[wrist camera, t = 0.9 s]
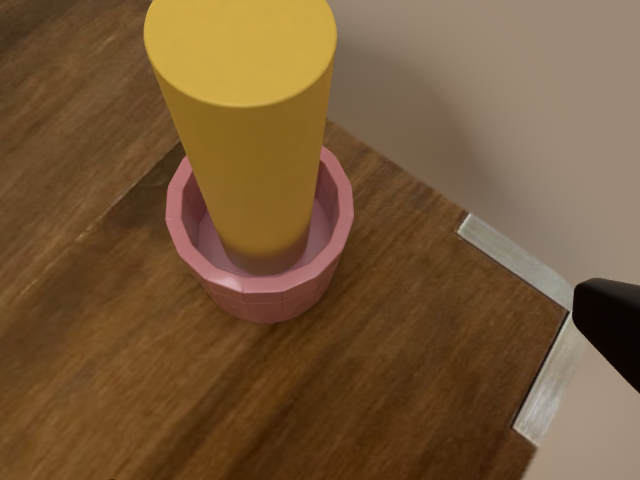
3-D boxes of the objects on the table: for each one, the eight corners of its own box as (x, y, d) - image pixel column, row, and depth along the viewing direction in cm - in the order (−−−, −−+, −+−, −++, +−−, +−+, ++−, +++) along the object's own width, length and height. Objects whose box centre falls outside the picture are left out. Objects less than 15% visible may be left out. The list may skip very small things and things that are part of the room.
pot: (359, 288, 23) (385, 246, 17) (228, 348, 21) (205, 325, 15) (300, 175, 25) (306, 101, 19) (177, 222, 23) (140, 159, 17)
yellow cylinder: (322, 255, 20) (370, 69, 9) (240, 290, 19) (181, 134, 8) (286, 183, 21) (290, -60, 10) (208, 214, 21) (116, -15, 9)
